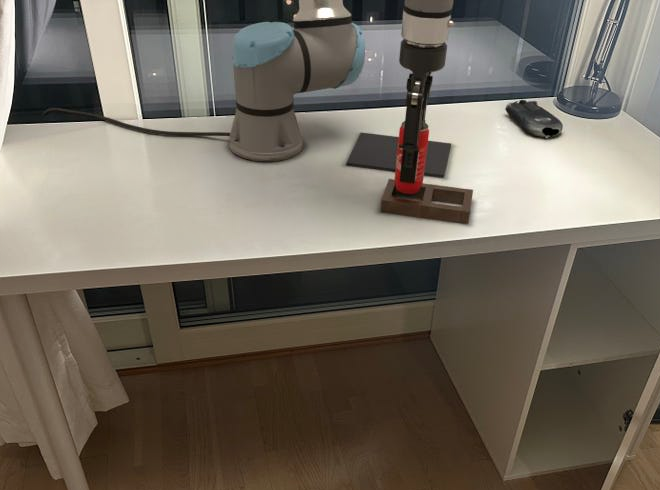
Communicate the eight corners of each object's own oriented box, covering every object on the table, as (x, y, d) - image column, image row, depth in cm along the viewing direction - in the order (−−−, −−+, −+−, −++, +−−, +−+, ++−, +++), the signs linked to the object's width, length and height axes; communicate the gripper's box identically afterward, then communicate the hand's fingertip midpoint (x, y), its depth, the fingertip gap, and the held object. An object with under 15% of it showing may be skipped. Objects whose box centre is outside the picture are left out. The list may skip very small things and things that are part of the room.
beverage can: (419, 196, 128) (427, 133, 120) (391, 192, 128) (397, 129, 120) (423, 184, 132) (431, 121, 124) (396, 180, 132) (402, 117, 124)
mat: (346, 165, 143) (346, 162, 143) (360, 134, 155) (360, 132, 155) (443, 177, 141) (444, 175, 140) (450, 146, 153) (451, 143, 152)
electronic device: (499, 122, 168) (533, 138, 156) (505, 97, 165) (539, 112, 153) (532, 124, 171) (568, 140, 160) (538, 100, 169) (575, 114, 157)
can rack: (380, 212, 129) (381, 199, 127) (387, 190, 136) (388, 178, 134) (468, 224, 127) (470, 211, 125) (471, 201, 134) (473, 189, 132)
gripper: (442, 61, 106) (423, 200, 121) (452, 27, 119) (435, 156, 135) (392, 55, 107) (380, 194, 122) (408, 22, 120) (396, 151, 135)
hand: (409, 174), depth 128 cm, fingers closed on beverage can, 5 cm apart
